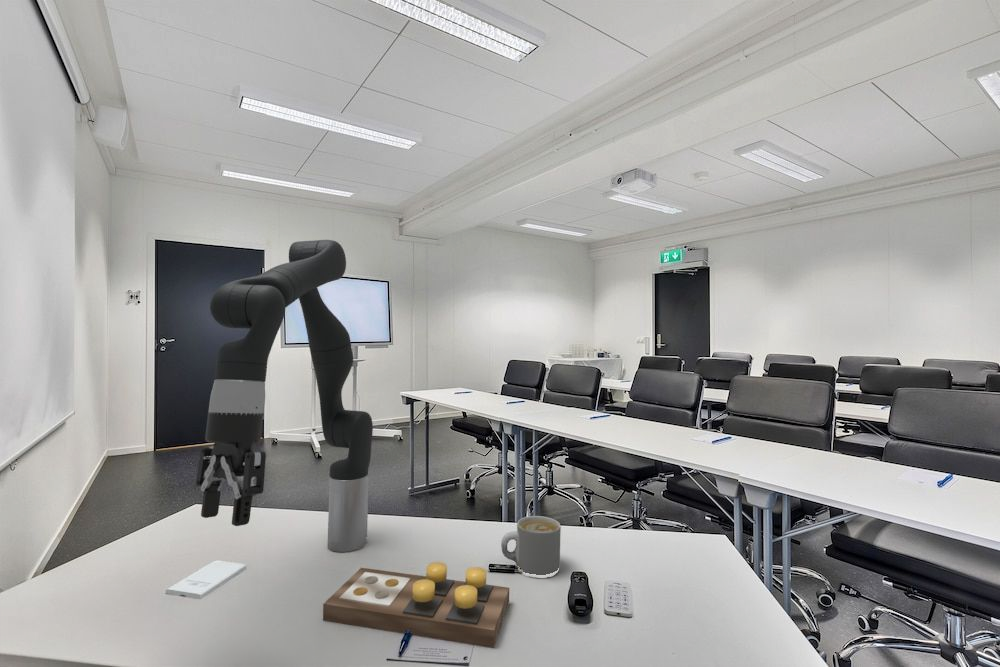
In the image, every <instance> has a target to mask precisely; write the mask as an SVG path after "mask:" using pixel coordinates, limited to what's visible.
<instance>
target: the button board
mask: <svg viewBox="0 0 1000 667" xmlns="http://www.w3.org/2000/svg"><path fill="white" fill-rule="evenodd" d="M423 579H426V576H424V575H418V574H411V573H404V572H396V571H389V570H382V569H374V568H373V569H372V568H366V567H360V568H359V569H358V570H356V572H355V573H353V575H352V576H351V577H350V578H348V580H346V581H345V582H344V583H343V584H342V585H341V586H340V587H339V588H338V589H337V590H336V591H335V592H334V593H333V594H332V595H331V596H330V597H329V598H328V599H326V600H325V602H324V603H323V604H322V605H323V606H322V607H323V608H322V610H323V611H322V621H325V622H332V623H338V624H344V625H350V626H357V627H363V628H368V629H369V628H370V629H375V630H381V631H387V632H394V633H399V634H404V633H405V632H406V631H407V630H409V631H410V633H411V634H412V635H411V634H410V635H411V636H416V637H418V636H419V637H423V638H430V639H436V640H441V641H447V642H455V643H459V644H467V645H473V646H477V647H478V646H480V647H486V648H490V649H494V648H495V645H496V642H497V639H498V636H499V634H500V632H501V631H500V630H501V627H502V624H503V622H504V619H505V616H506V613H507V610H508V607H509V605H508V603H509V604H510V587H507V586H501V585H500V586H498V585H493V584H488V583H486V585H485V586H483V587H480V588H476V589H477V604H476V605H475V606H474V607H472V608H467V609H464V608H459V607H457V606H456V605H455V589H456V588H457V587H459V586H462V585H466V583H465V582H466V581H462V580H454V579H449V578H446V579H445V580H444V581H442V582H434V583H435V597H434V598H433V599H432V600H430V601H428V602H417V601H415V600H414V599H413V597H412V596H413V584H414V583H415V582H416V581H418V580H423ZM507 606H508V607H507ZM506 609H507V610H506ZM505 612H506V613H505ZM504 615H505V616H504ZM503 618H504V619H503ZM502 621H503V622H502Z"/></svg>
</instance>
